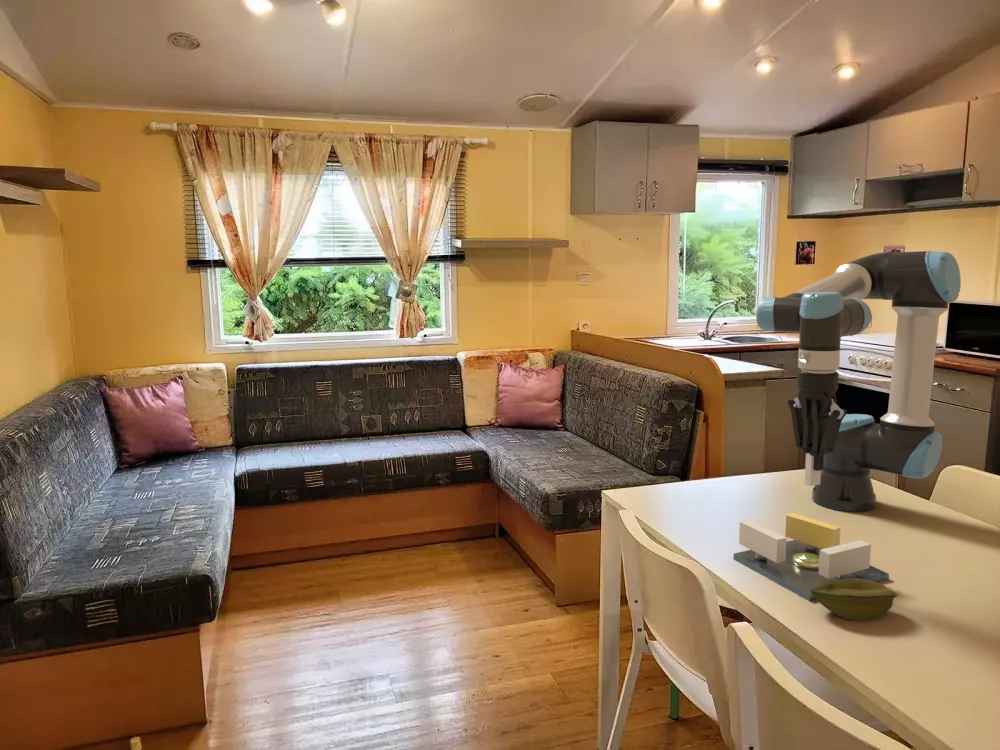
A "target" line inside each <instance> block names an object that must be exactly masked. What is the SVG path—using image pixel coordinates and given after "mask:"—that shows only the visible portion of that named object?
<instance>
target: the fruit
mask: <svg viewBox="0 0 1000 750" xmlns="http://www.w3.org/2000/svg"><path fill="white" fill-rule="evenodd" d="M811 593H812V594H813V596H814V598H815V600H816V601H817V602H818V603H819V604H821V605H822V606H823V607H824V608H826V609H827V611H830V612H831V613H833V614H835V615H837V616H839V617H841V618H843V619H846V620H851V621H856V622H869V621H875V620H878V619H880V618H881V617H883V616H884V615H886V614H887V613H888V612H889V611H890V609H891V608H892V607H893V604H894V599H895V598H896V597H897V594H896V593H895V592H894V591H893V590H892V589H888V588H887V587H886V586H885V585H884V584H882V583H881V582H875V581H871V580H867V579H860V578H844V579H838V580H832V581H829V582H826V583H824V584H822V585H820V586H818V587H816V588H814V589H812V590H811Z"/></svg>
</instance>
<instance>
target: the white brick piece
mask: <svg viewBox="0 0 1000 750" xmlns="http://www.w3.org/2000/svg"><path fill="white" fill-rule="evenodd" d="M871 551H872V544H871V543H869V542H866V541H864V540H862V539H859V540H856V541H851V542H847V543H843V544H839V545H838V546H834V547H829V548H825V549H821V550H820V553H819V572H818V574H820V575H822V576H824V577H826V578H828V579H829V578H833V577H837V576H838V577H839V578H841V579H844V578H851V573H852V572H856V571H860V570H864V569H868V568H870V565H871V553H872V552H871Z"/></svg>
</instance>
